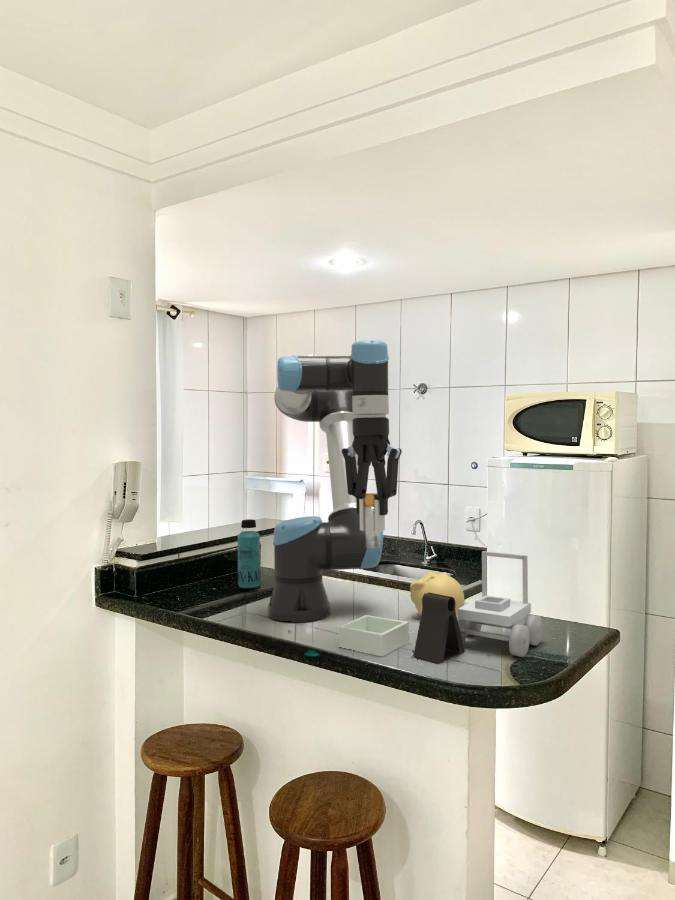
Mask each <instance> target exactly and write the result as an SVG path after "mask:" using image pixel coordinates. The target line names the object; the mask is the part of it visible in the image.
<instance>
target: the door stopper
mask: <svg viewBox="0 0 675 900" xmlns="http://www.w3.org/2000/svg"><path fill="white" fill-rule="evenodd" d="M455 605H456V602H455V599H454V598H453V597H449V596H444V595H439V594H434V593H429V592H428V594H427V593H425V594H424V595H423V598H422V614H421V615H420V620H419V624H418V631H417V634H416V640H415V646H414V651H413V654H412V655H413V656H412V657H413V658H416V659H418V660H419V659H420V660H424V661H427V662H431V663H434V664H438V665H440V664H442V663H444V662H447V661H449V660H452V659H453V658H456V657H459V656H461V655H463V654H464V653H465V651H466V650H465V645H464V643H463V641H462V637H461V633H460V629H459V624H458V620H457V616H456V611H455Z"/></svg>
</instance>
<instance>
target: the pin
mask: <svg viewBox="0 0 675 900" xmlns="http://www.w3.org/2000/svg"><path fill="white" fill-rule="evenodd" d="M376 497H378V495H377V492H374V493H373V492H372V493H371V492H370V493H369V492H368V493H367V492H366V494H364V503H365V547H366V548H379V547H380V533H379V532H375V500H377V499H376Z"/></svg>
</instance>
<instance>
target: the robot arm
mask: <svg viewBox="0 0 675 900" xmlns="http://www.w3.org/2000/svg"><path fill="white" fill-rule="evenodd" d="M350 351H351V353H350V356H349V355H331V356H330V355H323V356H322V355H321V356H319V355H317V356H315V355H313V356H310V355H309V356H307V355H304V356H303V355H302V356H301V355H290V356H281V357H279V358H278V359H277V364H276V369H277V370H276V375H277V376H276V377H277V379H276V380H277V387H276V389H275V392H274V395H273V396H274V397H273V398H274V399H273V400H274V404H275V406H276V407H277V409H278V410H279V411H280V412H281V413H282V414H283V415H284V416H286V417H288V418H290V419H293V420H296V421H299V422H304V423H305V422H306V423H314V422H315V423H319V428H320V429H321V430H322V431H323V432H324V433H325V434H326V446H327V456H328V458H327V459H328V468H329V476H330V478H329V479H330V487H331V488H330V489H331V491H330V492H331V500H332V510H333V511H332V512H331V513H330V514H329V515H328V517H327V521H325V522H324V521H323V520H322V517H320V516H318V515H317V516H316V515H313V516H309V515H308V516H302V517H295V518H291V519H286V520H284V521H281V522H279V523H278V524H276V525H275V526H274V530H273V542H272V545H273V547H274V551H273V552H274V553H273V555H274V562H273V563H274V584H273V588H272V591H271V595H270V596H271V597H269V602H268V606H267V616H268V617H269V618H270V617H271V618H270V619H272V618H273V619H272V620H274V619H276V620H275V621H278V620H281V621H280V622H283V621H291V622H290V623H306V622H308V623H309V622H314V621H318V620H319V621H320V620H323V619H325V618H327V617H329V616H330V615H331V603H330V601H329V599H328V594H327V592H326V589H325V586H324V581H323V571H338V570H339V571H340V570H343V571H344V570H363V569H371V568H372V569H373V568H375V567H377V566H378V565H379V563H380V560H381V558H382V552H383V545H384V544H383V542H384V531H385V530H386V516H387V515H388V513H389V499H390V498H392V497H395V496H396V495H397V493H398V491H397V490H398V477H399V476H398V473H399V462H400V461H399V460H400V457H401V455H402V453H403V451H402V449H401V448H396V447H395V446H392V445H391V441H390V439H389V435H390V419H389V418H388V417H387V415H389V414H390V413H389V412H390V409H389V408H390V406H389V405H390V404H389V360H390V357H389V353H388V352H389V351H388V344H387V342H385V341H382V340H374V339H371V340H366V339H365V340H357V341H355V342H353V343H352V344H351V350H350ZM386 455H387V456H388V457H387V461H386V458H385V456H386ZM386 462H387V463H386ZM370 466H371V467H373V472H374V481H375V488H376V493H377V495H378V497H376V499H377V500H375V532H379V533H380V547H379V548H366V547H365V503H364V494H367V491H368V481H369V471H370ZM385 466H386V467H385Z"/></svg>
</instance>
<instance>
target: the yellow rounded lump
mask: <svg viewBox="0 0 675 900" xmlns="http://www.w3.org/2000/svg"><path fill="white" fill-rule="evenodd" d="M409 589H410V590H409V591H410V595H409V596H410V600H411V601H412V603H413V604H414V606H415V608H416V611H417V612H418V613H419V615H420V616H421V614H422V598H423V595H424V594H425V593H427V594H428V592H429V593H434V594H439V595H444V596H449V597H453V598H454V599H455V602H456V605H455V611H456V615H458V608H460V607H462V606H464V605H465V594H464V590H463V588H462V586H461V584H460V583H459V582H458V581H457V580H456V579H455V578H453V577H451V575H448V574H447V572H434V571H428V572H426V573H425V574H423V576H422V577H421V578H419V579H417V580H415V581H413V582H411V584H410V586H409Z"/></svg>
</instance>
